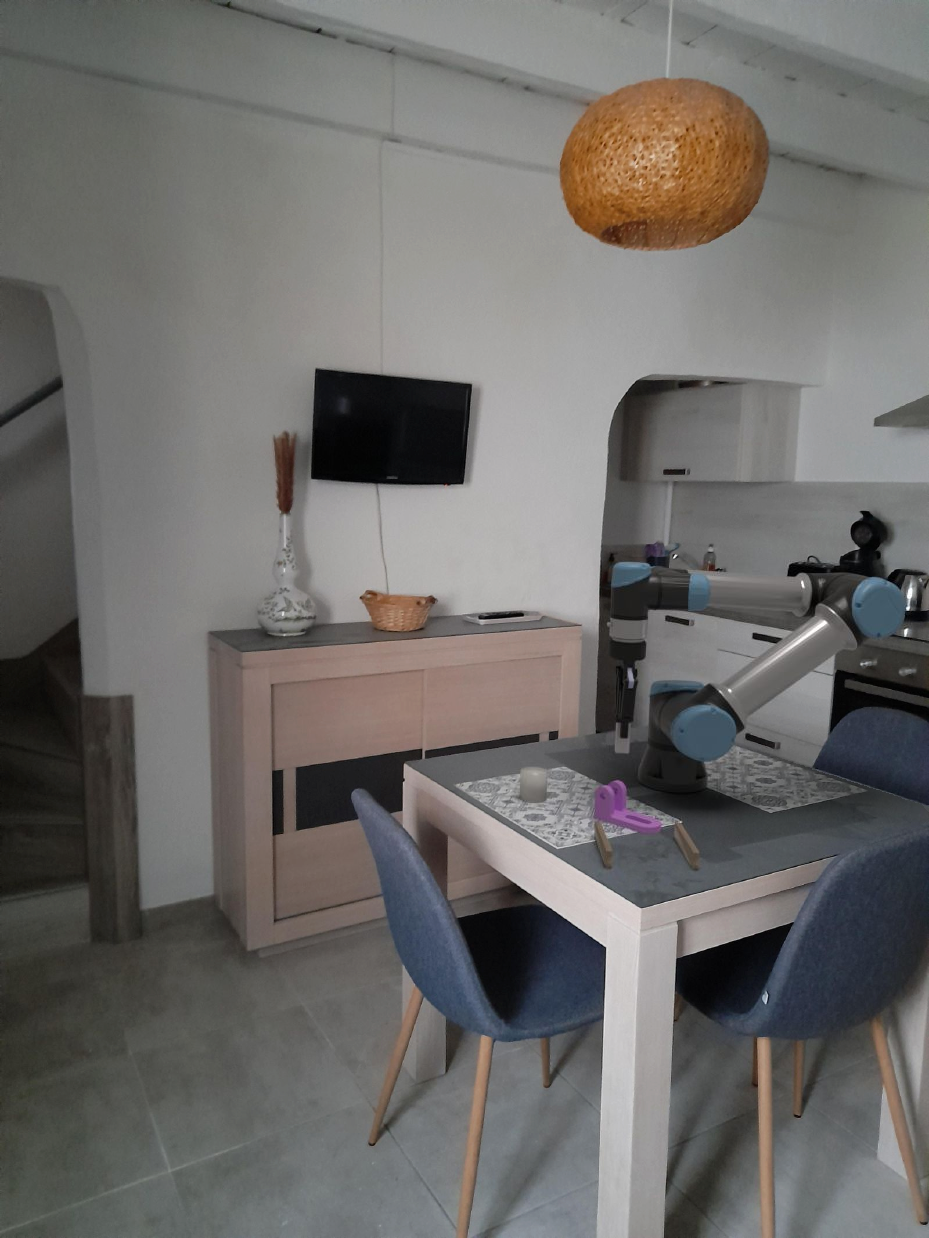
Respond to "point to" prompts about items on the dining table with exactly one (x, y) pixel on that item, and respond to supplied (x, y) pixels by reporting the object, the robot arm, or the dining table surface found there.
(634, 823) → the bracket
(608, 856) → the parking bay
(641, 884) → the dining table surface
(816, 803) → the dining table surface
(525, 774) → the white pillar candle
